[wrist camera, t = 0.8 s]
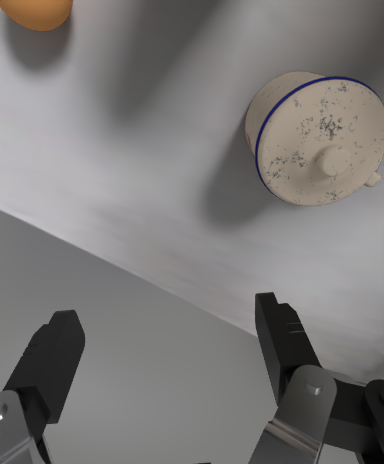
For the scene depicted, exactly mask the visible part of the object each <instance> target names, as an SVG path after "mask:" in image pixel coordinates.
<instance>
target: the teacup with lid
mask: <svg viewBox="0 0 384 464" xmlns="http://www.w3.org/2000/svg"><path fill="white" fill-rule="evenodd" d="M245 133H246V139H247V142H248V145H249V147H250V149H251V151H252V153H253V155H254V158H255V162H256V168H257V171H258V174H259V176H260V179H261V181H262V182H263V184H264V185H265V186H266V188H267V189H268V190H269V191H270V192H271V193H272V194H274V195H275V196H276V197H278V198H280V199H281V200H283V201H286V202H288V203H291V204H295V205H300V206H320V205H325V204H329V203H332V202H335V201H338V200H340V199H342V198H344V197H346V196H348V195H350V194H351V193H353V192H354V191H356V190H357V189H358V188H360V187H361V186H362V185H363V184H364V185H366V186H368V187H374V186H376V185H377V184H378V183H379V182H380V180H381V175H380V174H379V173H378V172H377V171H376V169H377V168H378V166H379V164H380V162H381V161H382V159H383V156H384V105H383V103H382V101H381V99H380V98H379V96H378V95H377V94H376V93H375V92H374V91H373V90H372V89H371V88H370V87H368V86H367V85H365V84H364V83H362V82H360V81H357V80H354V79H351V78H346V77H337V76H336V77H326V76H322V75H318V74H314V73H310V72H303V71H297V72H290V73H286V74H283V75H281V76H278V77H276V78H275V79H273V80H271V81H270V82H269V83H267V84H266V85H265V86H264V87H263V88H262V89H261V90H260V91H259V92H258V93H257V95H256V96H255V97H254V99H253V101H252V102H251V104H250V107H249V109H248V112H247V116H246V121H245Z"/></svg>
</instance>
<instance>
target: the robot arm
mask: <svg viewBox="0 0 384 464" xmlns="http://www.w3.org/2000/svg"><path fill="white" fill-rule="evenodd" d="M255 324H256V330H257V335H258V338H259V342H260V345H261V349H262V353H263V356H264V360H265V364H266V367H267V371H268V375H269V378H270V382H271V386H272V389H273V393H274V396H275V400H276V404H277V406H279V407H278V409H277V411H276V414H275V416H274V418H273V420H272V421H269V422H268V423H267V425H266V427H265V428H264V430H263V433H262V435H261V437H260V439H259V441H258V444H257V446H256V448H255V450H254V452H253V454H252V456H251V459H250V461H249V463H248V464H318V462H319V459H320V455H321V452H322V449H323V445H324V443H325V444H328V445H332V446H335V447H339V448H342V449H346V450H350V451H353V452H355V454H356V457H357V460H358V462H359V464H384V380H380V379H378V380H373V381H371V382H369V383H368V384H367V385H366V387H363V386H358V385H354V384H349V383H345V382H342V381H339V380H337V379H335V378H333V377H332V376H331V375H330V374H329V373H328V372H327V371H326V370H324V369H323V368H322V366H321V365H320V363H319V361H318V358H317V356H316V354H315V352H314V350H313V348H312V345H311V343H310V341H309V339H308V337H307V334H306V332H305V331H304V328H303V326H302V324H301V321H300V319H299V317H298V315H297V312H296V311H295V310H294V309H293V308H292V307H291V306H290V305H289V304H288V303H283V304H278V302H277V300H276V297H275V295H274V293H273V292H269V293H258V294H256V295H255ZM84 346H85V334H84V331H83V329H82V326H81V324H80V321H79V319H78V316H77V313H76V312H75V310H65V311H56V312H55V313H54V314H53V316H52V318H51V320H50V322H49V324H44V325H43V326H42V327H41V328H40V329H39V330H38V331H37V332H36V333H35V334H34V335H33V337H32V338H31V340H30V342H29V344H28V347H27V348H26V349H25V351H24V353H23V356H22V357H21V358H20V360H19V362H18V364H17V366H16V367H15V369H14V371H13V373H12V375H11V376H10V378H9V380H8V382H7V384H6V386H5V387H4V389H3V391H1V392H0V464H54V463H53V460H52V457H51V454H50V451H49V448H48V445H47V442H46V439H45V436H44V434H43V432H44V429H45V427H46V424H55V423H58V421H59V418H60V415H61V412H62V410H63V407H64V404H65V401H66V398H67V395H68V392H69V390H70V387H71V384H72V381H73V378H74V375H75V372H76V369H77V367H78V364H79V361H80V358H81V355H82V353H83V350H84ZM199 464H211V463H199Z"/></svg>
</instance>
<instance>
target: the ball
mask: <svg viewBox="0 0 384 464" xmlns="http://www.w3.org/2000/svg"><path fill="white" fill-rule="evenodd" d="M72 3H73V0H0V7H1V9H2V10H3V11H4V12H5V13H6V14H7V15H8V16H9V17H10V18H11V19H13V20H14V21H15V22H17V23H18V24H20V25H22V26H24V27H26V28H28V29H32V30H36V31H49V30H53V29H55V28H57V27H59V26H60V25H61V24H63V23H64V22H65V20H66V19H67V17H68V16H69V14H70V11H71V8H72Z"/></svg>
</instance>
